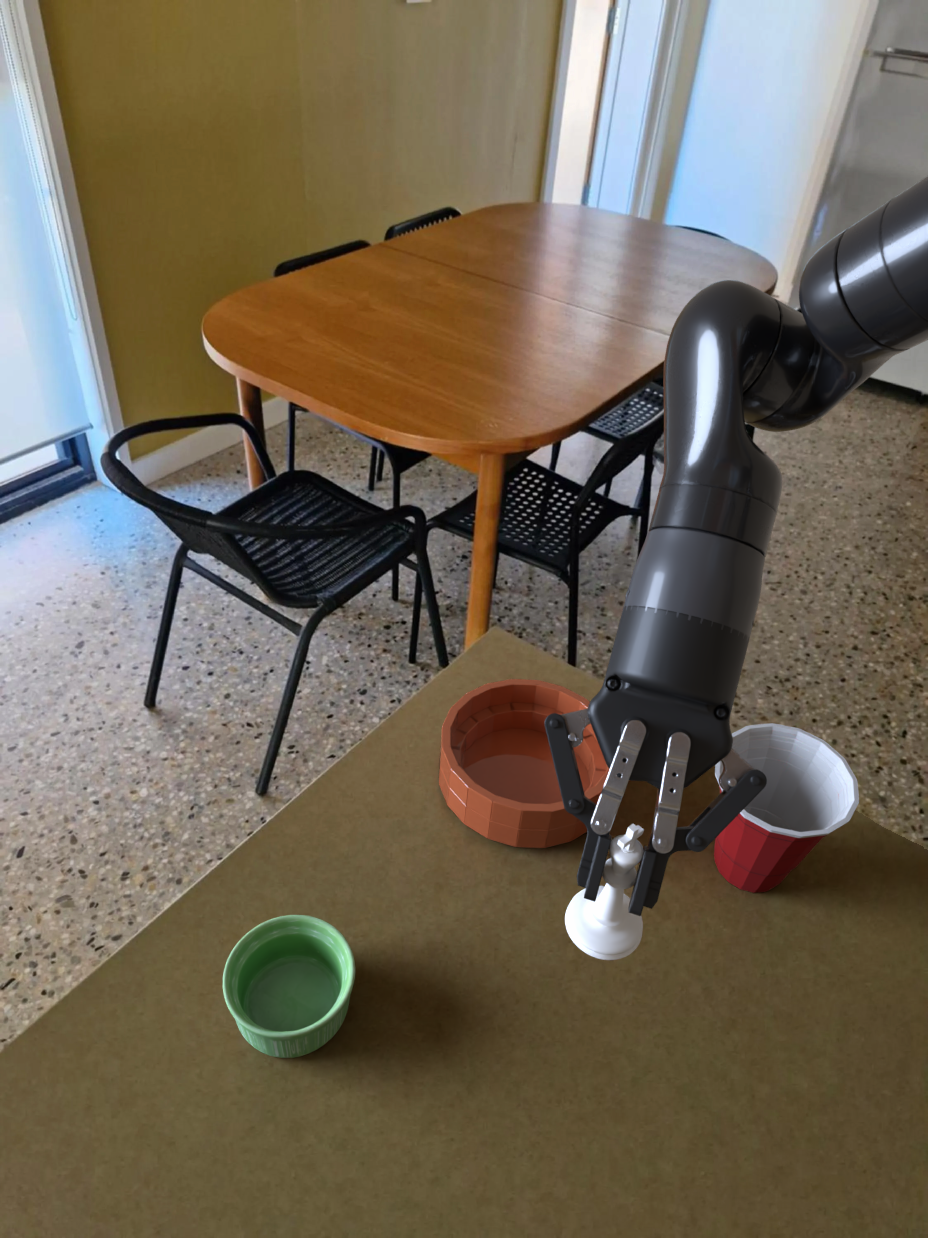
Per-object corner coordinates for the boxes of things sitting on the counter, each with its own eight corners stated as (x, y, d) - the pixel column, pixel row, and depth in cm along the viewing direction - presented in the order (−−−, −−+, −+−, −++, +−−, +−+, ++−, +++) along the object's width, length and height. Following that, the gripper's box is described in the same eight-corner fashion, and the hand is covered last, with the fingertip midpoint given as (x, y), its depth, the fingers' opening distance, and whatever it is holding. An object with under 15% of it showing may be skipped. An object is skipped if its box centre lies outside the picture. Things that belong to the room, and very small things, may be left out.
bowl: (637, 770, 83) (649, 730, 80) (553, 884, 73) (562, 843, 70) (499, 696, 90) (504, 656, 86) (403, 791, 79) (405, 750, 76)
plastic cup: (656, 857, 76) (688, 763, 68) (729, 795, 82) (766, 702, 74) (764, 948, 70) (812, 856, 62) (835, 874, 76) (887, 781, 68)
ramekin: (381, 991, 65) (381, 959, 62) (296, 1095, 59) (293, 1065, 56) (289, 925, 69) (286, 892, 66) (201, 1017, 63) (193, 985, 60)
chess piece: (548, 918, 57) (572, 821, 50) (601, 877, 59) (629, 780, 53) (605, 976, 54) (637, 881, 47) (658, 930, 56) (695, 834, 50)
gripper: (570, 580, 51) (489, 879, 49) (819, 641, 48) (741, 960, 46) (576, 599, 58) (506, 860, 57) (792, 653, 55) (724, 929, 54)
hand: (612, 904), depth 51 cm, fingers closed on chess piece
